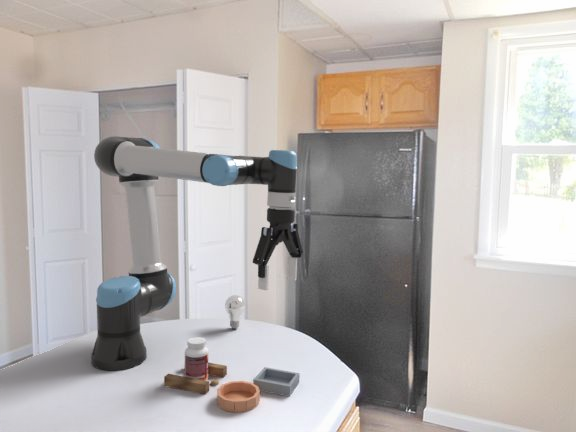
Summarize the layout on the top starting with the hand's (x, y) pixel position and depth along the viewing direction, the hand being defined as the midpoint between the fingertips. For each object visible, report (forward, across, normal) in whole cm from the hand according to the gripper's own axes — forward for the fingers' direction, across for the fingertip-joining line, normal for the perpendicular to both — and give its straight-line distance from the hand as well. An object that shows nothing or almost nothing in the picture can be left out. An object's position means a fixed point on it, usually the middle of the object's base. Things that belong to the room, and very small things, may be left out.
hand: (278, 284), depth 129 cm
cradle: (+25, -18, +13) cm, 33 cm away
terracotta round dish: (+25, -19, -3) cm, 32 cm away
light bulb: (+26, +18, +30) cm, 44 cm away
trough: (+25, -7, -6) cm, 27 cm away
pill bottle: (+25, -18, +13) cm, 34 cm away
